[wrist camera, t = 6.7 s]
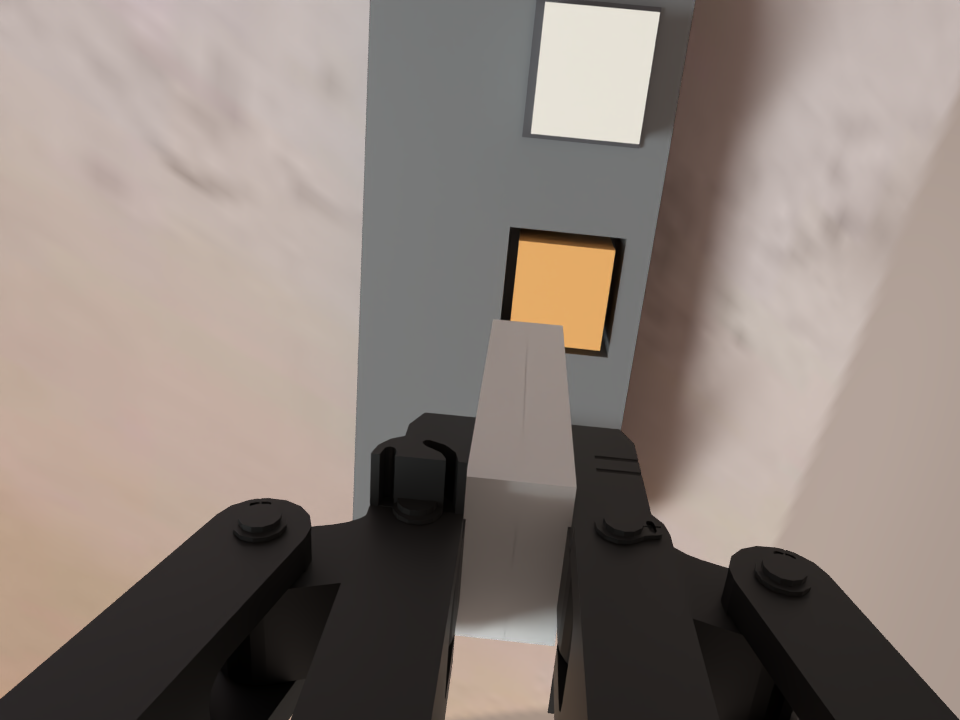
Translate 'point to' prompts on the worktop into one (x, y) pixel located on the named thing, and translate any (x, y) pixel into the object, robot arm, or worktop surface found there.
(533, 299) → the button orange
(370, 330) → the grey button panel
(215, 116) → the worktop surface
